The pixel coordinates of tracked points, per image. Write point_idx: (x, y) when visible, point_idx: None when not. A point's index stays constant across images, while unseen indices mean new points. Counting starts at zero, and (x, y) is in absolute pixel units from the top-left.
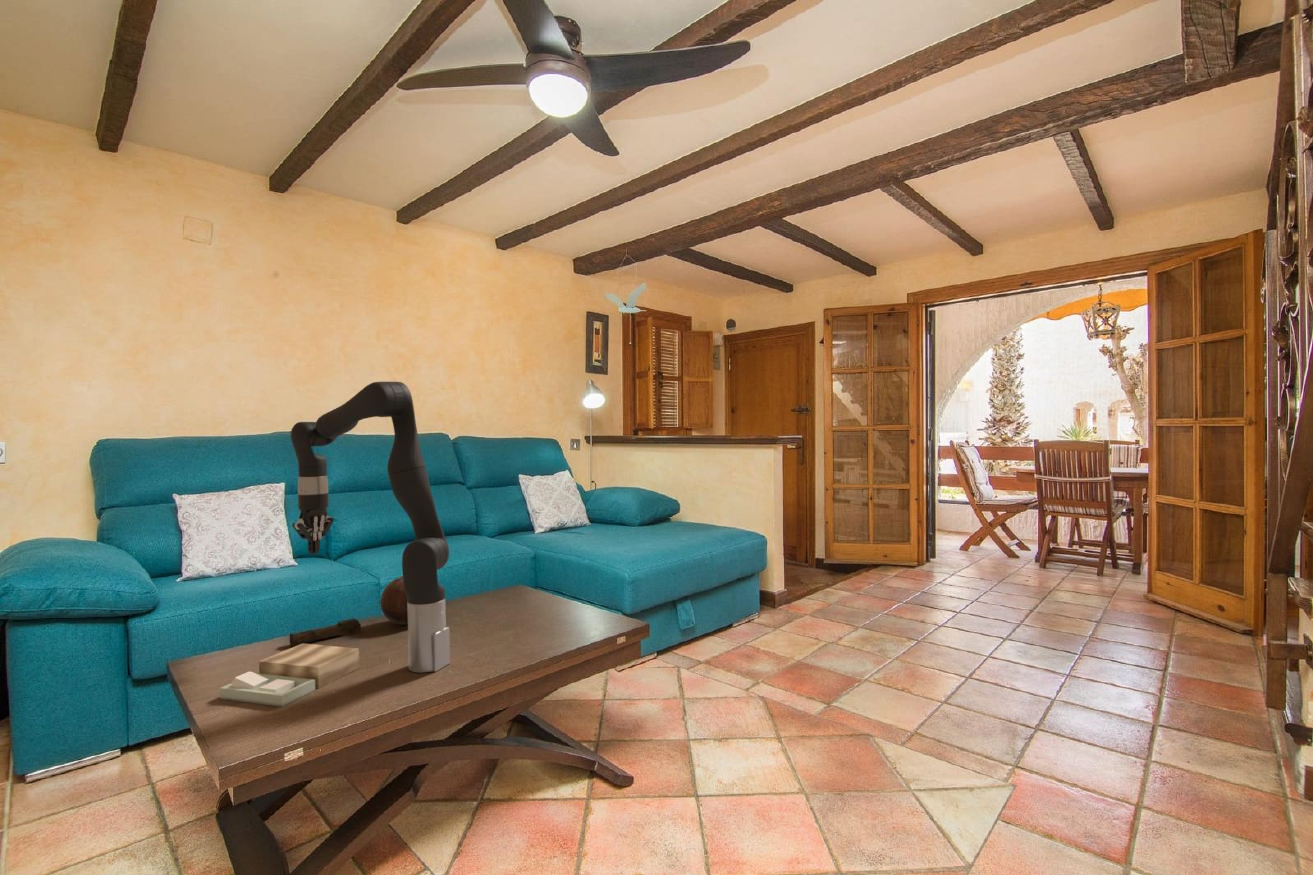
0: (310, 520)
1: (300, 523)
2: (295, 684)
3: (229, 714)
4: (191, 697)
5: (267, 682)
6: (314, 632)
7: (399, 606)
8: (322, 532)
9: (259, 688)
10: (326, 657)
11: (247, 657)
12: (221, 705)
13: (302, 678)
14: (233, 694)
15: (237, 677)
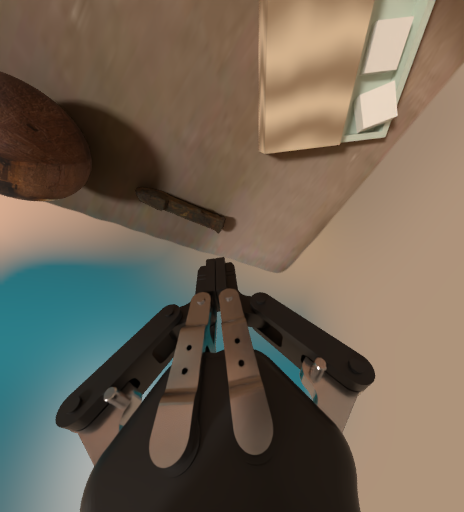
0: (278, 408)
1: (370, 382)
2: None
3: (432, 60)
4: (364, 177)
5: None
6: (200, 211)
7: (56, 111)
8: (175, 325)
9: (396, 66)
10: (326, 4)
11: (261, 233)
12: None
13: None
14: None
15: (393, 115)
